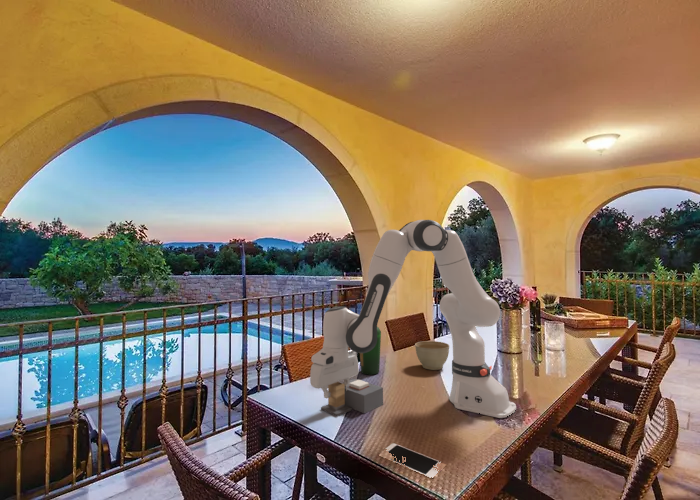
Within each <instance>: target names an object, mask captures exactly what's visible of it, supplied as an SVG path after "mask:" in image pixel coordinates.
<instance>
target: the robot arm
mask: <svg viewBox="0 0 700 500" xmlns="http://www.w3.org/2000/svg"><path fill="white" fill-rule="evenodd" d="M373 251H374V252H373V254H372V257H371V260H370V263H369V267H368V272H367V273H368V274H367V275H368V276H367V278H368V281H367V282H368V286H367V287H368V288H367V293H366V295H365V299H364V302H363V305H362V307H361V309H360V313H359V314H358V313H356V312H353V311H352V310H350V309H348V308H347V307H346V306H334V307H332V308H329V309H327V310H326V311H325V312H324V316H323V325H322V326H323V327H322V333H323V339H324V340H323V343H322V348H321V349H319V351H317V352H316V353H314V354H312V356H311V363H312V364H311V365H310V366H311V367H310V371H309V372H310V377H309V379H310V381H309V383H310V385H311V387H313V388H315V389H318V390H319V389H321V390H322V392H323V398H325V399H328V398H329V397H330V394H331V392H328V385H330V384H333V383H336V382H342V381H343V382H342V383H343V384H345V391H347V386H348V383H349V381H350V380H351V378H354V377H355V376H356V377H357V376H358V375H359V372H360V369H359V361H358V357H357V356H358V354H360V353H367V352H369V351H371V350H372V349H373V348H374V347H375V345H376V343H377V337H378V336H377V327H378V323H379V319H380V316H381V315H382V314H381V313H382V312H383V308H384V305H385V302H386V300H387V297H388V295H389V294H390V291H391V289H392V288H393V286H394V285H395V283H396V281H397V280H398V277H399V276H400V274H401V271H402V268H403V265H404V263H405V260H406V258H407V256H408V255H409V253H410V252H412V251H415V252H431V254H432V255H433V256H434V260H435V263H436V266H437V269H438V273H439V275H440V278H441V281H442V283H443V285H444V286H445V288H447V289H448V290H449V291H450V293H447V294H444V295H443V296H442V297H441V299H440V301H439V311H440V312H441V313H440V314H441V315H442V316H443V317H444V319H445V320H446V322H447V324H448V329H449V332H450V335H451V341H452V361H451V374H452V383H451V390H450V394H449V398H448V400H449V402H450V403H452V404H453V405H454V408H455V409H458V410H462V411H467V412H471V413H475V414H479V413H480V415H484V416H489V417H493V418H498V419H503V418H508V417H510V416H511V414H512V413H513V414H514V413H515V412H516V411H515V410H517V405H516V403H515V402H513V401H510V397H509V394H508V390H507V388H506V387H505V386H504V385H502V384H501V383H500V382H499V381H498V380H497V379H496V378H495V377H494V376H493V375H492V374H491V370H493V367H492V365H490V366H489V365H488V364H487V363H486V359H485V358H486V356H485V355H486V350H485V347H486V346H485V345H486V343H485V341H484V339H483V337H482V336H481V335H480V333H479V332H478V330H477V327H478V328H481V327H482V328H485V327H486V328H487V327H493V326H494V325H496V324H497V322H498V321H499V319H500V316H501V309H500V305H499V303H498V302H497V301H496V300H495V299H494V298H492V297H491V296H490V295H488V293H487V292H486V291H485V289H483V287H482V286H481V284H480V283H479V281H478V280H477V278H476V276H475V274H474V271H473V269H472V266H471V263H470V260H469V258H468V254H467V251H466V249H465V246H464V244H463V242H462V240H461V238H460V237H459V235H458V233H457V232H456V231H454V230H453V229H452V230H451V229H444V228H443V226H442V225H441V224H440V223H439V222H437V221H435V220H432V219H418V220H414V221H410V222H408V223H406V224H404V225H403V226H402V227H401V228H400V229H388V230H386V231H385V232H384V233H383V234H382V236H381V237H380V239H379V241H378V243H377V244H376V247H375V249H374V250H373ZM349 349H350V350H349ZM513 414H512V415H513ZM509 415H510V416H509ZM507 416H508V417H507Z"/></svg>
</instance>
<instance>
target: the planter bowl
mask: <svg viewBox="0 0 700 500" xmlns="http://www.w3.org/2000/svg"><path fill="white" fill-rule="evenodd" d="M414 347H415V353H416V357H417V359H418V360H419V362H420V364H421V366H422V368H423V369H425V370H430V371H437V370H439V371H440V370H442V369H443V367H444V365H445V364H446V362H447V360H448V357H449V352H450V345H449V344H448V343H446V342H444V341H443V342H442V341H438V340H436V341H434V340H425V341H418V342H416V343H415V344H414Z"/></svg>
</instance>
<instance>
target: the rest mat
mask: <svg viewBox="0 0 700 500" xmlns="http://www.w3.org/2000/svg"><path fill="white" fill-rule="evenodd" d="M320 409H321V411H323V412H326V413H327V414H331V415H332V416H334V417H340V416H342V415H344V414H347V413H348V412H351V411H352V410H353V409H352V408H351V407H349V406H346V405H345V407H344V408H342V409H340V410H338V411H335V410H333V409H330V408H328V404H325V405H324V406H321V407H320Z"/></svg>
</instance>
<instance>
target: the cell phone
mask: <svg viewBox="0 0 700 500" xmlns="http://www.w3.org/2000/svg"><path fill="white" fill-rule="evenodd" d="M385 449H387V450H386V451H388V452H389V453H391V454H392V456H394V457H395V456H396V458H397V461H396V458H394V460H393V462H395V461H396V463H399V464H400V465H401V463H402V456H403V457H406V462H404V463H402V465H404V464H405V466H406V467H408V468H409V469H411V470H413V471H412V472H414V471H416V472H419V473H420V474H424V475H425V476H427V477H429V478H428V479H430V478H431V477H432V478H433V477H434V476H435V475H436V474H437V473H438V471H439V470H438V471H437V469H436V468H433V465H434V467H437V464H438V463H439V464H440V463H441V462H442V461H440V460H438V459H435V458H432V457H430V456H427V455H425V454H423V453H420V452H417V451H414V450H412V449H409V448H407V447H405V446H402V445H399V444H397V443H394V442H393V443H391V444H390V445H388V446H386V448H385ZM393 454H394V455H393ZM390 460H392V459H390ZM399 460H400V462H399ZM404 460H405V458H404ZM439 461H440V462H439ZM393 462H392V463H393ZM400 465H399V466H400ZM435 465H436V466H435ZM437 468H438V467H437ZM409 469H408V470H409ZM435 469H436V470H435ZM411 470H410V471H411ZM416 472H415V473H416ZM420 474H419V475H420ZM425 476H424V477H425ZM427 477H426V478H427Z"/></svg>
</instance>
